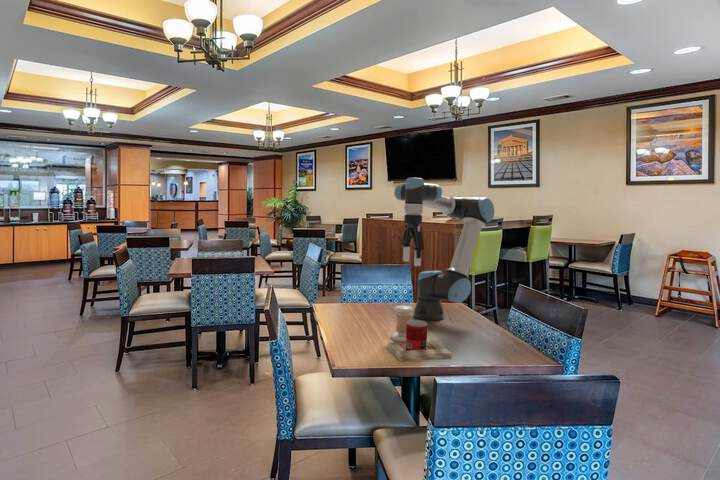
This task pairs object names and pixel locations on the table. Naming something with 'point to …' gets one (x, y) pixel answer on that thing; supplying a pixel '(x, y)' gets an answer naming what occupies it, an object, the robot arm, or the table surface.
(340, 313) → the table surface
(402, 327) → the bobbin
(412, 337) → the canned food
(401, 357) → the notched board
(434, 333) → the table surface
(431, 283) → the robot arm
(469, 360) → the table surface
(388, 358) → the table surface
